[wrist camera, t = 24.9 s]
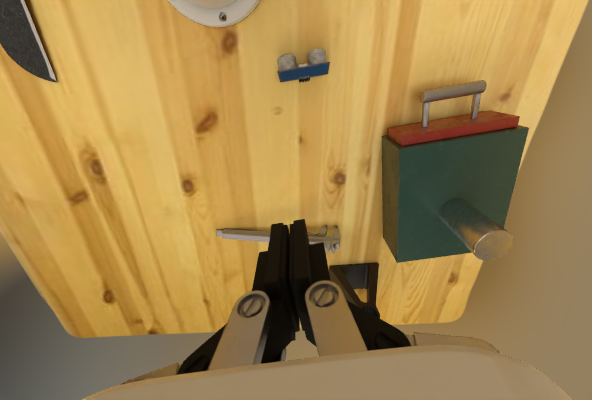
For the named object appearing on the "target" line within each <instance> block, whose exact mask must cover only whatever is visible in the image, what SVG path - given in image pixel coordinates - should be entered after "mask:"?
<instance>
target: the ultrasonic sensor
mask: <svg viewBox="0 0 592 400" xmlns="http://www.w3.org/2000/svg"><path fill="white" fill-rule="evenodd" d="M307 58H308V63H305V64H299V65H298V66H297V64H296V58H295V56H294V55H291V54H285V55H282V56H280V57H279V58H278V60H277V61H278V68H279V71H278V75H279V79H280V82H285V81H291V80H297V79H299V82H300V83H301V82H304V81H308V82H309V80H310V77H314V76H319V75H325V74H328V70H329V64H330V62H327V58H326V52H325V50H324V49H314V50H312V51H310V52H309V53H308V55H307ZM297 67H298V68H297Z"/></svg>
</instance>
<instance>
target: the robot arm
mask: <svg viewBox="0 0 592 400" xmlns="http://www.w3.org/2000/svg"><path fill="white" fill-rule="evenodd" d="M168 1H169V3H170V4H171V5H172V6H173V7H174V8H175V9H176V10H178V11H179V12H180V13H181V14H182V15H184V16H185V17H187V18H189V19H190V20H192V21H194V22H196V23H198V24H201V25H204V26H208V27H217V28H221V27H228V26H231V25H234V24H236V23H239V22H240V21H242V20H243V19H244V18H246V17H247V16H248V15H249V14H250V13H251V12H252V11H253V10H254V9H255V7H256V6H257V4H258V3H259V1H260V0H168ZM223 16H226V20H225V21H223ZM299 318H300V322H301V326H302V329H303V331H305V334H306V338H307V340H309V341H310V342H311V343H312V344H314V345H315V346H316V347H317V350H318V354H319V357H313V358H305V359H297V360H288V361H285V359H286V346H287V345H288V344H289V343H290V342H291V341H293V340H295V332H298V331H299V330H300V327H299ZM82 400H572V399H571V398H570V397H569V396H568V395H567V394H566V393H565V392H564V391H563V390H562V389H561V388H560V387H558V386H557V385H556V384H555V383H554V382H553V381H552V380H551V379H549V378H548V377H547V376H546V375H544V374H543V373H541V372H540V371H538V370H537V369H535V368H534V367H532V366H530V365H529V364H527V363H524V362H522V361H520V360H517V359H515V358H512V357H510V356H507V355H504V354H501V353H500V352H499V351H498V350H497V349H496V348H495V347H494V346H492V345H491V344H489V343H488V342H486V341H484V340H482V339H477V338H473V337H463V336H450V335H440V334H428V333H417V332H414V335H405V334H404V333H402V332H401V331H400V330H398V329H397V328H395V327H393V326H392V325H390V324H388V323H386V322H385V321H383V320H381V319H379V318H378V317H376V316H374V315H372V314H370V313H369V312H367V311H365V310H363V309H362V308H360V307H358V306H356V305H355V304H353V303H351V302H349V301H347V300H346V299H345V297H344V294H343V292H342V290H341V288H340V287H339V286H338V285H337V284H336V283H334V282H331V281H330V275H329V270H328V264H327V259H326V253H325V248H324V242H321V243H315V244H310V243H309V238H308V233H307V228H306V224H305V219H302V220H296V221H294V224H290V234H289V230H288V226H287V225H283V223H278V224H272V226H271V233H270V240H269V247H268V251H265V252H260V253H259V256H258V261H257V267H256V272H255V278H254V283H253V288H252V291H251V292H248V293H246V294H244V295H243V296H241V297H240V298H239V299H238V300H237V302H236V303H235V305H234V307H233V310H232V312H231V315H230V317H229V319H228V322H227V324H226V325H225V326H223V327H222V328H221V329H220V330H219V331H218V332H216V333H215V334H214V335H213V336H212V337H211V338H209V339H208V340H207V341H206V342H205V343H204V344H203V345H201V346H200V347H199V348H198V349H197V350H196V351H195V352H194V353H192V354H191V355H190V356H189V357H188V358H187V359H186V360H185V361H184V362H183V364H181V365H179V364H178V363H175V364H172V365H170V366H167V367H164V368H162V369H159V370H156V371H153V372H150V373H148V374H145V375H142V376H139V377H137V378H134V379H131V380H128V381H127V382H124V383H122V384H121V385H118V386H115V387H112V388H108V389H105V390H103V391H100V392H97V393H95V394H93V395H90V396H88V397H86V398H84V399H82Z"/></svg>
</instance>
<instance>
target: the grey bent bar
mask: <svg viewBox="0 0 592 400" xmlns="http://www.w3.org/2000/svg"><path fill="white" fill-rule="evenodd" d="M270 233H271V232H263V231H250V230H237V229H224V230H216V234H217V235H218V236H222V238H225V239H237V240H249V241H262V242H269V240H270ZM307 233H308V238H309V243H310V244H315V243H321V242H324V247H326V252H325V253H327V252H328V251H329V250H330V247H331V250H332V252H333V253H335V249H339V246H340V240H341V236H340V232H339V229H338V227H337V226H335V227H334V232H333V237H330V236H326V235H327V225H325V226H323V228H322V229H321V230H320V231H319V233H318V234H313V233H310V232H307ZM289 234H290V233H289Z"/></svg>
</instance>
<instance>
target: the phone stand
mask: <svg viewBox="0 0 592 400" xmlns="http://www.w3.org/2000/svg"><path fill="white" fill-rule="evenodd" d="M378 267H379V264H378V263H365V264H355V265H353V264H350V265H334V266H330V267H329V274H330V281H331V282H334V283H336V284H337V285H338V286H339V287H340V288H341V290H342V292H343V294H344V297H345V299H346V300H347V301H349V302H351V303H353V304H355V305H356V306H358V307H360V308H362V309H363V310H365V311H367V312H369V313H370V314H372V315H374V316H376V317H378V318H379V319H380V314H379V311H378V310H377V307H376V293H377V280H378ZM363 288H365V289H367V303H364V302H362V301H360V299H359V298H358V296H357V294H356V293H355V291H354V290H353V289H363Z"/></svg>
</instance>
